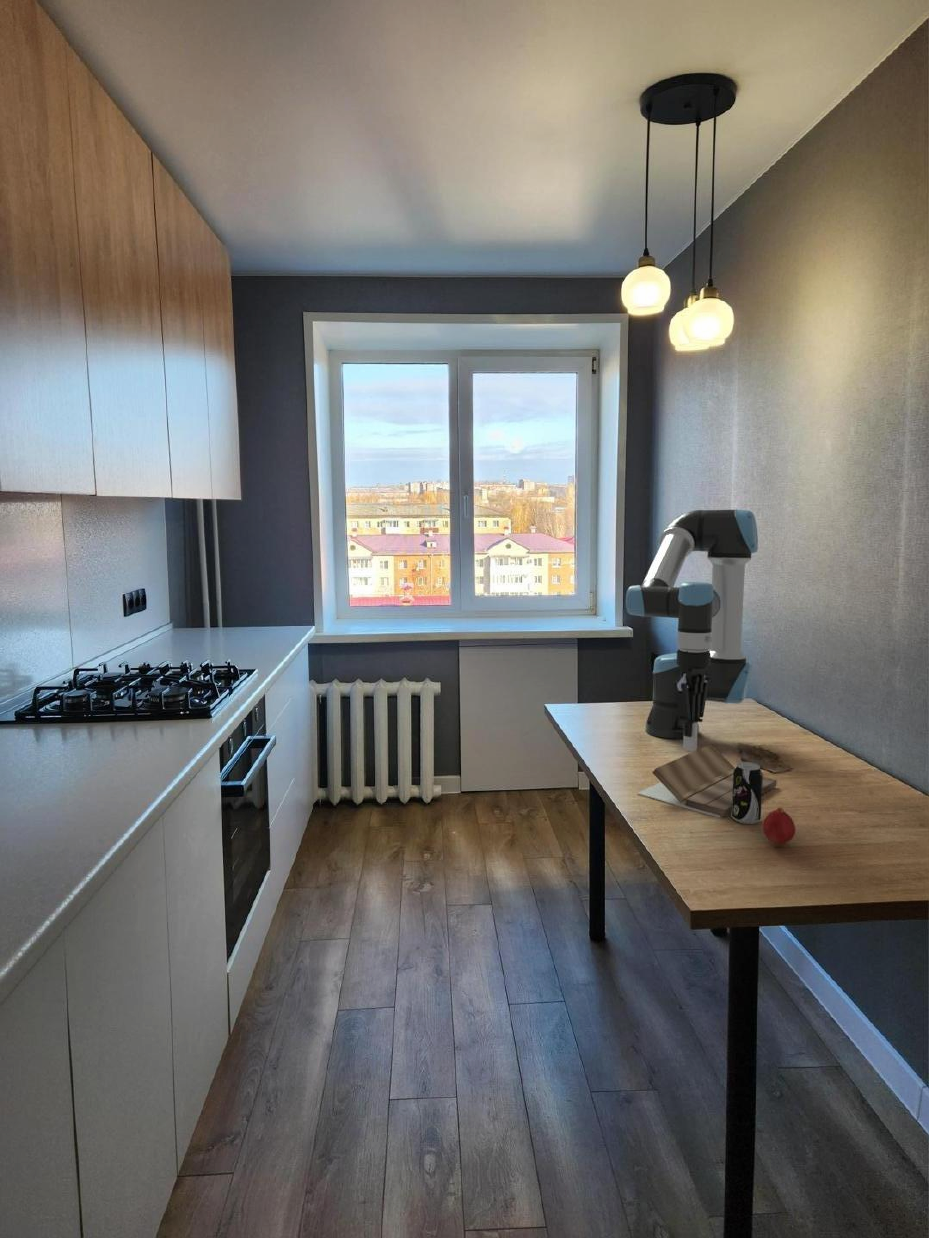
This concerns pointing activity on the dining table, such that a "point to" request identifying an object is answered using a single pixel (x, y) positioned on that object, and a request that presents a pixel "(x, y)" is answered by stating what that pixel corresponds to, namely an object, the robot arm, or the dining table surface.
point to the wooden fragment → (762, 758)
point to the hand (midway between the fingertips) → (689, 749)
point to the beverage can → (747, 793)
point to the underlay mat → (668, 797)
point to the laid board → (721, 796)
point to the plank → (694, 772)
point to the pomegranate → (778, 827)
